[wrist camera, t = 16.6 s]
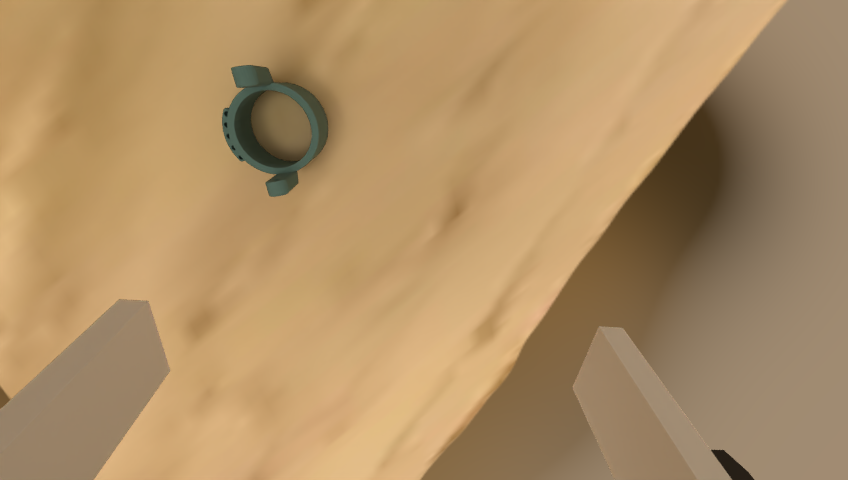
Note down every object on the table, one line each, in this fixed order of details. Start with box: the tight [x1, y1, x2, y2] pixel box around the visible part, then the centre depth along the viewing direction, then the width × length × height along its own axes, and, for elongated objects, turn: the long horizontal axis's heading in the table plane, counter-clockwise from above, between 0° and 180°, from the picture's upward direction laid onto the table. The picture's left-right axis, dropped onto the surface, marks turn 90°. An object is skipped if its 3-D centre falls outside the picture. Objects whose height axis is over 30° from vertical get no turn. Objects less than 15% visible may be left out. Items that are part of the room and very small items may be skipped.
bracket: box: [222, 65, 328, 197], centre depth 36 cm, size 9×9×9 cm
